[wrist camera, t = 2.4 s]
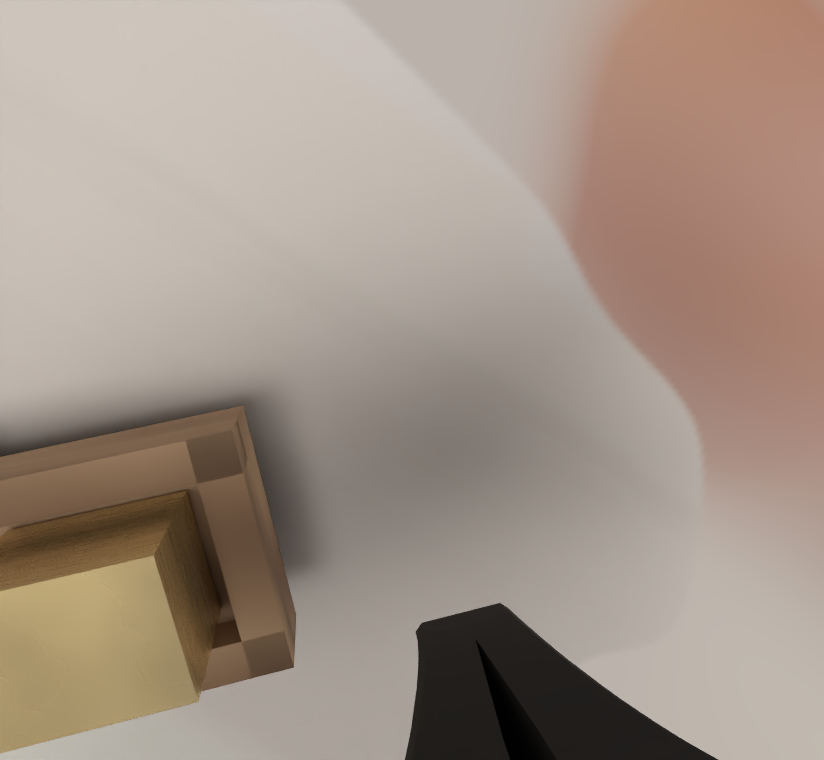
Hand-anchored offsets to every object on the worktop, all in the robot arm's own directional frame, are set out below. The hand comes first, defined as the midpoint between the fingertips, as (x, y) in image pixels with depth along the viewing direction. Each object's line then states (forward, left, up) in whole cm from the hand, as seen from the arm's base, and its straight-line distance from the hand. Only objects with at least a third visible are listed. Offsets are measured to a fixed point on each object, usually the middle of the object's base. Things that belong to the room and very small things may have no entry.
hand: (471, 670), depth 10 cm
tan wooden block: (0, +7, -6) cm, 9 cm away
